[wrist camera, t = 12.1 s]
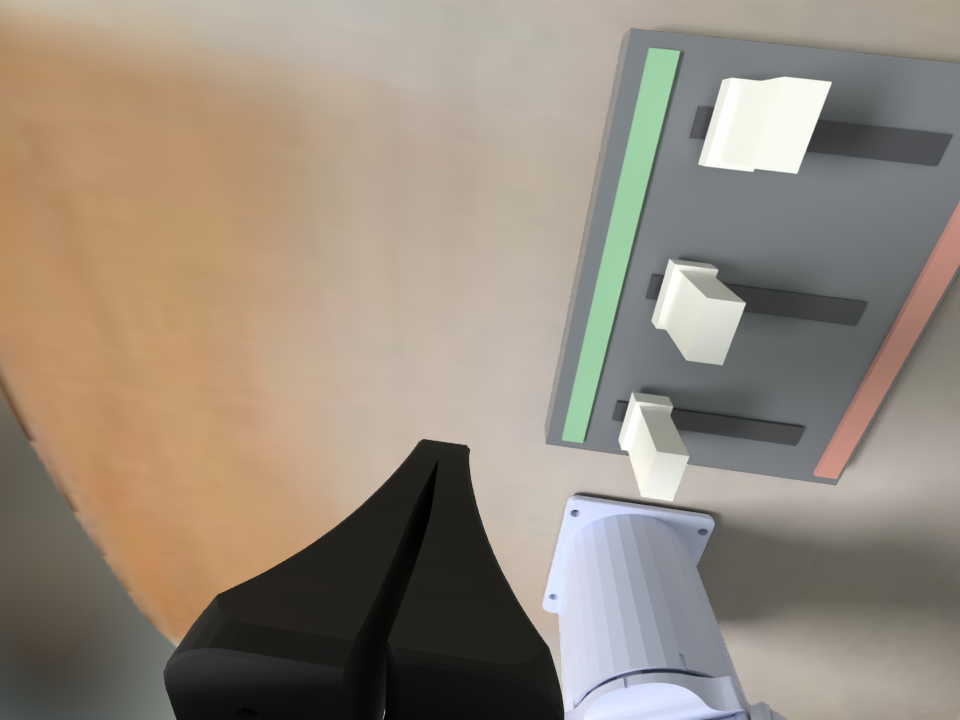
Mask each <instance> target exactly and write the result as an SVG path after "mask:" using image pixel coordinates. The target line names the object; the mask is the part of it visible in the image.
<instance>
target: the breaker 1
mask: <svg viewBox="0 0 960 720" xmlns="http://www.w3.org/2000/svg"><path fill="white" fill-rule="evenodd" d="M672 409H673V405H672V403H671V401H670V399H669V397H666V396H659V395H651V394H644V393H637V392H632V394H631V398H630V401H629V405H628V408H627V412H626V415H625V418H624V422H623V425H622V429H621V432H620V436H619V439H618V440H619V443H620V447H621V450H626V451H628V453H629V456H630V459H631V463H632V466H633V469H634V473H635V476H636V479H637V483H638V486H639V489H640V493H641V496H642V497H648V498H655V499H661V500H668V501H673V499H674V496H675V493H676V491H677V488H678V485H679V483H680V480H681V478H682V475H683V472H684V470H685V467H686V464H687V462H688V459H689V454H688V452H687V450H686V448H685V446H684V444H683V441H682V439H681V437H680V435H679V433H678V431H677V429H676V427H675V425H674V423H673V421H672V418H671V416H670V415H671V412H672Z"/></svg>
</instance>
